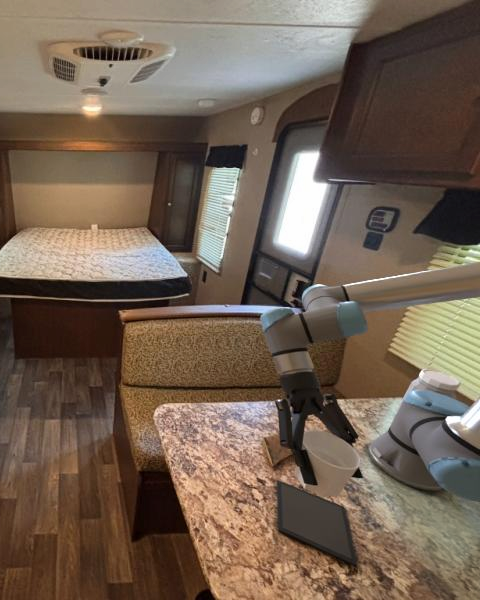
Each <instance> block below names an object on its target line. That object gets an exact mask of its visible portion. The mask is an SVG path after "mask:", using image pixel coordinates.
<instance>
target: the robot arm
mask: <svg viewBox="0 0 480 600" xmlns="http://www.w3.org/2000/svg"><path fill="white" fill-rule="evenodd" d="M301 295H302V296H301V302H302V303H301V304H302V308H304V310H305V311H303V312H298V313H295V311H294V310H293V309H292V308H291V307H288V306H287V307H280V308H273V309H269V310H267V311H265V312H263V313H262V314H261V315H260V318H259V319H260V320H259V321H260V323H261V327H262V333H263V335H264V338H265V341H266V344H267V347H268V349H269V353H270V355H271V358H272V359H271V360H272V362H273V365H274V367H275V368H274V369H275V371H276V374H278V375H280V376H279V378H278V381H279V383H280V386H281V389H282V391H283V392H284V393H285V396H286V397H285V398H281V399H280V398H279V399H275V400H274V404H275V407H276V410H277V417H278V418H277V420H278V434H279V435H278V436H279V437H280V445H281V446H282V447H285V448H287V449H290V450H291V451H292V454H291V455H292V457H293V460H294V463H295V466H296V465H297V467H299V468H300V471H301V474H302V478H303V481H304V484H309V485H314V486H316V485H318V483H317V480H316V477H315V474H314V471H313V468H312V465H311V462H310V459H309V456H308V453H307V450H302V444H303V437H304V432H305V429H306V421H307V420H308V418H309V416H314V417H315V418H317V419H318V420H319V421H320V422H321V423H322V424H323V425H324V426H325V428H326V429H327V430H328V431H329V433H331V434H333V435H335V436H337V437H339V438H341V439H343V440H344V441H346V442H347V443H348V444H350V445H351V446H352V447H353V448H354V445H353V444H356V443H357V440H358V439H359V434H358V433H357V431H356V429H355V428H354V426H353V425H352V423H351V422H350V420H349V419H348V417H347V415H346V414H345V413H344V411H343V409H342V408H341V406H340V404H339V402H338V399H337V396H336V395H335V394H334V393H328V394H322V392H321V390H320V388H321V387H322V386H321V383H320V380H319V377H318V375H317V374H318V373H317V372H315V371H313V370H314V369H315V366H314V364H313V361H312V358H311V355H310V353H309V350H308V348H307V345H311V344H312V345H313V344H316V343H323V342H329V341H335V340H339V339H347V338H348V339H349V338H351V337H355V336H359V335H362V334H365V333H367V331H368V330H369V326H368V322H367V318H366V315H365V314H364V313H368V312H377V311H383V310H393V309H398V308H407V307H414V306H415V307H416V306H422V305H431V304H438V303H447V302H453V301H461V300H469V299H476V298H478V299H479V298H480V261H477V262H471V263H465V264H458V265H454V266H448V267H441V268H436V269H429V270H425V271H419V272H418V271H417V272H413V273H407V274H402V275H396V276H395V275H394V276H389V277H384V278H378V279H371V280H366V281H360V282H355V283H349V284H342V285H335V286H328V285H325V284H314V285H311V286H309V287H307V288H306V289H305V290H304V291H303V293H302V294H301ZM402 399H403V398H402ZM367 453H368V455H369V457H370V459H371V461H373V463H374V464H375V465H376V466H377V467H378V468H379V469H380V470H381V471H382V472H384V473H385V474H387V475H388V476H390V477H391V478H393V479H395V480H397V481H398V482H401V483H402V484H404V485H406V486H409V487H412V488H415V489H417V490H421V491H425V492H439V491H441V490H442V489H444V490H445V491H446V492H447V493H449V494H451V495H453V496H456V497H459V498H461V499H465V500H468V501H473V502H480V396H479V397H478V398H476V400H475V401H474V403H472V405H471V406H469V405H467V403H464V402H462V401H459V400H458V399H453V398H450V397H448V396H445V395H441V394H438V393H434V392H430V391H424V390H414V391H411V392H409V393H408V394H407V396H406V397H405V398H404V399H403V402H402V404H401V406H400V408H399V410H398V412H396V414H395V416H394V418H393V420H392V422H391V424H390V426H389V428H388V429H387V430H386V431H384V432H383V433H382V434H380V435H379V436H378V437H376V438H375V439H373V440H372V441H371V442H370V443H369V446H368V448H367ZM351 478H352V479H353V478H355V479H363V478H364V476H363V474H362V471H361V468H360V466H359V467H358V469H357V470H356V471H355V473H354V474H353V475H352V477H351Z"/></svg>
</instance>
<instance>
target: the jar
mask: <svg viewBox="0 0 480 600" xmlns="http://www.w3.org/2000/svg"><path fill="white" fill-rule="evenodd" d="M461 384H462V383H461V382H460V381H459V379H457V378H456V377H454V376H452V375H451V374H449V373H446V372H444V371H440V370H436V369H431V368H423V369H422V370H421V371H420V372H419V374H418V376H417V378H416V379H413V380H412V381H411V382H410V384H409V386H408V388H407V390H406V392H405V394H404V396H403V397H402V399H401V402H399V405H398V407H397V408H396V410H395V412H396V413H397V412H398V410H399V408H400V406H401V404H402V402H403V399H404V398H405V397H406V396H407V394H408V393H409V392H411V391H414V390H424V391H430V392H434V393H438V394H441V395H445V396H448V397H450V398H453V399H455V400H457V395H456V393H457V391H458V389H459V387H460V386H461Z"/></svg>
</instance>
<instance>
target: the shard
mask: <svg viewBox="0 0 480 600" xmlns="http://www.w3.org/2000/svg"><path fill="white" fill-rule="evenodd" d="M261 438H262V441H263V443H264V446H265V449H266V453H267V458H268V460H269V463H270V465H271V467H275V466H276V465H277V464H278V463H279V462H280V461H282V460H284V459H286V458H287V457H289V456H291V455H293V454H292V451H291V450H290V449H287V448H285V447H282V446H281V445H280V437H279V435H278V434H276V433H272V434H270V435H268V436H262V437H261Z"/></svg>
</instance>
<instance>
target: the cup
mask: <svg viewBox="0 0 480 600" xmlns="http://www.w3.org/2000/svg"><path fill="white" fill-rule="evenodd" d="M302 450H307V453H308V456H309V459H310V462H311V465H312V468H313V471H314V474H315V477H316V480H317V483H318V485H316V486H314V485H309V484H304V481H303V478H302V474H301V471H300V468H299V467H297V465H296V464H295V469H294V472H293V476H294V477H295V478H296V479H297V480H298V481H299V482H300V483H301V485H302V487H303V490H307V491H310V492H312V493H313V494H314V495H316V496H318V497H321V498H322V499H325V498H326V497H333V498H336V499H337V498H338V497H339V495H340V494H341V493H342V491H343V490H344V488H345V487H346V485H347V484H348V483H349V481H350V480H351V478H353V477H352V475H353V474H354V473H355V471H356V470H357V469H358V467H359V468H360V466H361V465H362V459H361V455H360V454H359V453H358V451H357V450H356V449H355V447H354V446H353V447H352V446H351V445H350V444H348V443H347V442H346V441H344V440H343V439H341V438H339V437H337V436H335V435H333V434H332V433H331V432H327V431H324V430H320V429H309V430H304V437H303V444H302Z"/></svg>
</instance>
